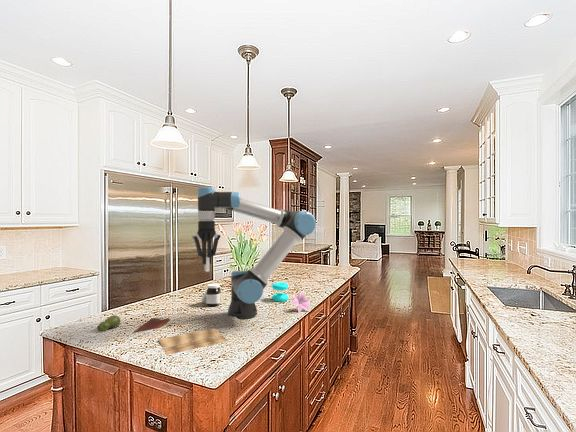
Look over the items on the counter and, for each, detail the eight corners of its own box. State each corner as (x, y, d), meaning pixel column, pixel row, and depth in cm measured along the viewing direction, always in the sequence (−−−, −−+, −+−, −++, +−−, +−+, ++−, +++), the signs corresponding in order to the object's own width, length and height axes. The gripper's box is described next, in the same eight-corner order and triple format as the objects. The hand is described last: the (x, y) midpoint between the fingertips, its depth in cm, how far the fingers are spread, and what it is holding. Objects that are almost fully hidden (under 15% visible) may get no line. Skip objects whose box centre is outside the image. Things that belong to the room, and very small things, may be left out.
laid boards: (222, 338, 138) (222, 335, 138) (228, 343, 132) (228, 340, 132) (162, 351, 125) (162, 347, 125) (167, 357, 119) (167, 354, 119)
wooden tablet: (151, 320, 162) (151, 316, 162) (171, 320, 162) (171, 317, 162) (121, 341, 136) (121, 337, 136) (144, 341, 135) (144, 337, 135)
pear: (122, 314, 152) (101, 324, 143) (123, 325, 152) (103, 335, 144) (114, 312, 154) (93, 322, 145) (115, 323, 155) (95, 333, 146)
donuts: (286, 281, 205) (290, 285, 195) (286, 297, 205) (290, 301, 195) (270, 282, 202) (273, 285, 193) (270, 298, 203) (273, 302, 193)
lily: (286, 314, 174) (292, 300, 170) (287, 300, 185) (293, 287, 181) (307, 320, 175) (313, 307, 171) (307, 306, 186) (313, 293, 182)
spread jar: (218, 307, 183) (218, 286, 183) (198, 307, 183) (198, 286, 183) (222, 301, 195) (222, 282, 195) (204, 301, 195) (204, 282, 195)
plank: (162, 350, 125) (162, 347, 125) (158, 342, 132) (158, 339, 132) (221, 337, 138) (221, 334, 138) (214, 330, 145) (214, 327, 145)
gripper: (216, 220, 157) (217, 268, 157) (190, 220, 150) (190, 271, 150) (222, 220, 151) (223, 270, 151) (195, 220, 143) (195, 274, 144)
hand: (207, 271), depth 150 cm, fingers closed
